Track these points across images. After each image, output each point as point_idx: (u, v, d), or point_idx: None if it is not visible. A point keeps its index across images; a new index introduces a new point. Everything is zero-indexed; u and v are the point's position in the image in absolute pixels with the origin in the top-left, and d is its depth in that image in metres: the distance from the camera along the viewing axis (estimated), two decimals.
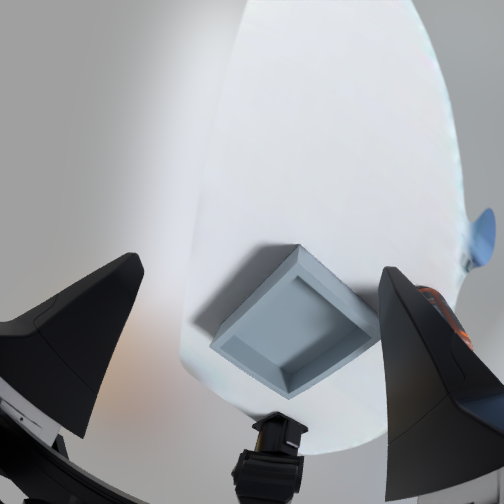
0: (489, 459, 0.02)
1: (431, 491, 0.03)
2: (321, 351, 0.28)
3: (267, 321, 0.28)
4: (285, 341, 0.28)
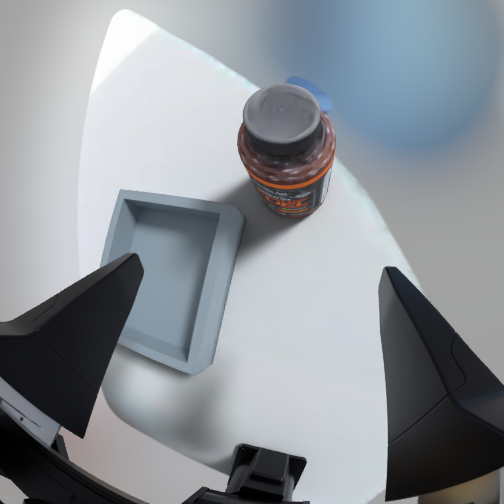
0: (489, 459, 0.02)
1: (431, 491, 0.03)
2: None
3: (141, 286, 0.24)
4: (167, 303, 0.23)
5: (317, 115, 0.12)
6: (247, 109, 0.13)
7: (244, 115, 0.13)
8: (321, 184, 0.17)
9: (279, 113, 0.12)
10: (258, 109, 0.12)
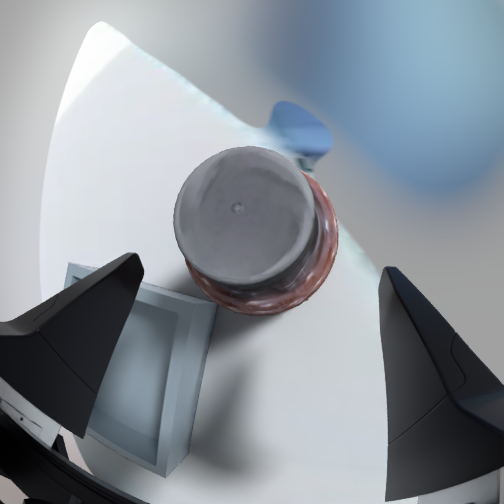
0: (489, 459, 0.02)
1: (431, 491, 0.03)
2: None
3: None
4: (133, 393, 0.18)
5: (307, 221, 0.07)
6: (180, 206, 0.08)
7: (175, 219, 0.08)
8: None
9: (235, 218, 0.07)
10: (198, 207, 0.07)
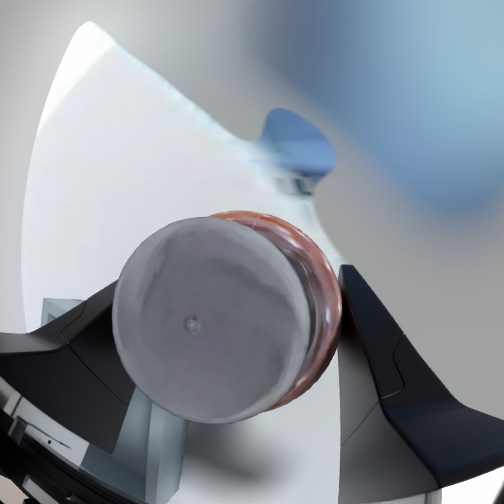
0: (409, 481, 0.02)
1: (367, 502, 0.03)
2: None
3: None
4: None
5: (296, 353, 0.04)
6: (118, 308, 0.05)
7: (113, 324, 0.05)
8: None
9: (189, 339, 0.05)
10: (139, 315, 0.05)
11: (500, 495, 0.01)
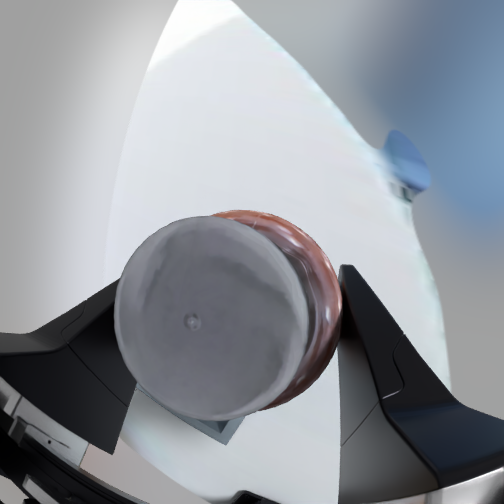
0: (409, 481, 0.02)
1: (367, 502, 0.03)
2: None
3: None
4: None
5: (295, 350, 0.04)
6: (119, 306, 0.05)
7: (115, 322, 0.05)
8: None
9: (190, 336, 0.05)
10: (141, 312, 0.05)
11: (500, 495, 0.01)
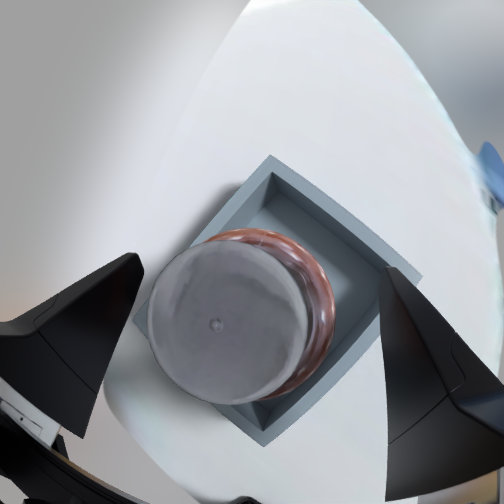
0: (489, 459, 0.02)
1: (431, 491, 0.03)
2: None
3: None
4: None
5: (297, 345, 0.06)
6: (152, 313, 0.06)
7: (148, 327, 0.06)
8: None
9: (214, 336, 0.06)
10: (172, 318, 0.06)
11: None
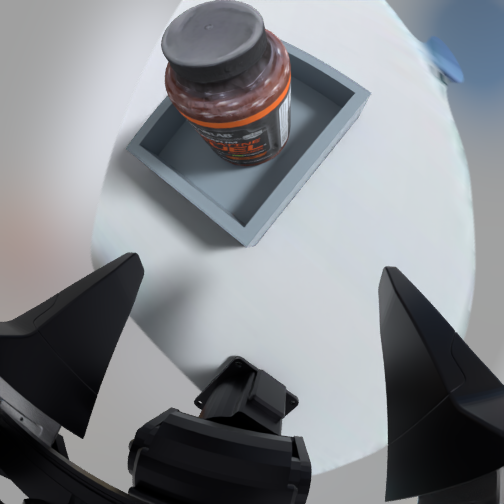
0: (489, 459, 0.02)
1: (431, 491, 0.03)
2: None
3: None
4: None
5: (258, 28, 0.07)
6: (167, 34, 0.08)
7: (163, 41, 0.08)
8: (276, 120, 0.12)
9: (207, 31, 0.07)
10: (180, 31, 0.07)
11: None
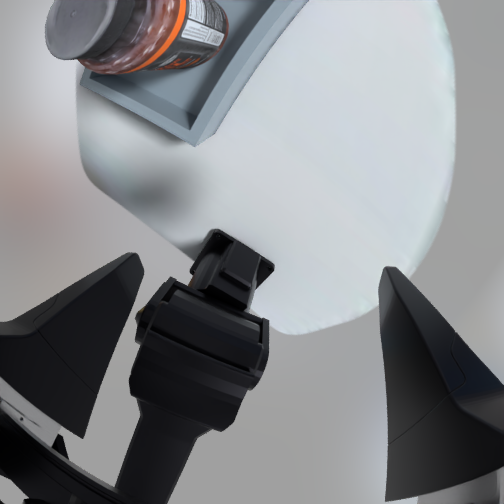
0: (489, 459, 0.02)
1: (431, 491, 0.03)
2: None
3: None
4: None
5: None
6: (46, 31, 0.05)
7: (46, 39, 0.06)
8: (186, 42, 0.10)
9: (72, 19, 0.05)
10: (54, 26, 0.05)
11: None
